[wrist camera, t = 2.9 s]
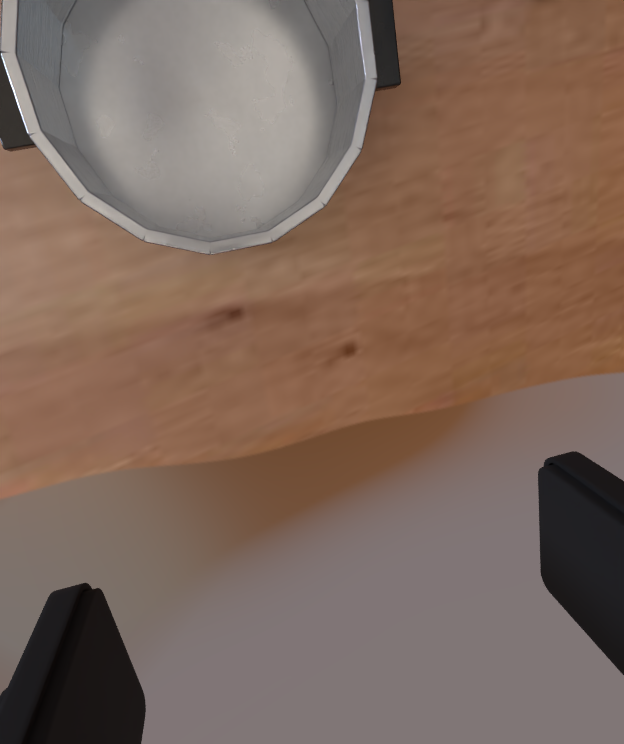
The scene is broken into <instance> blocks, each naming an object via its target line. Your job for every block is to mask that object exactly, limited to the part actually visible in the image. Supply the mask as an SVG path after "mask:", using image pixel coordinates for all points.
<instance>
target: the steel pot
mask: <svg viewBox="0 0 624 744" xmlns="http://www.w3.org/2000/svg"><path fill="white" fill-rule="evenodd" d="M400 84H401V80H400V70H399V60H398V51H397V41H396V31H395V22H394V12H393V2H392V0H2V9H1V36H0V140H1V143H2V146H3V148H4V149H5V150H8V151H16V150H22V149H28V148H34V147H38V149H39V150H40V151H41V153H42V154H43V155H44V156H45V158H46V159H47V160H48V162H49V163H50V164H51V165H52V167H53V168H54V169H55V170H56V172H57V173H58V174H59V176H60V177H61V178H62V179H63V181H64V182H65V183H66V185H67V186H68V187H69V188H70V190H71V191H72V192H73V193H74V195H75V196H76V197H77V199H78V200H81V202H82V203H83V204H85V205H86V206H88V207H90V208H91V209H93V210H94V211H96V212H97V213H99V214H101V215H102V216H104V217H105V218H107V219H109V220H110V221H112V222H113V223H115V224H116V225H118V226H120V227H121V228H123V229H124V230H126V231H127V232H129V233H131V234H132V235H134V236H135V237H137V238H139V239H140V240H142V241H144V242H148V243H153V244H158V245H163V246H168V247H173V248H178V249H183V250H188V251H193V252H198V253H203V254H208V255H210V254H211V255H213V254H218V253H223V252H228V251H233V250H238V249H243V248H248V247H254V246H259V245H264V244H269V243H272V242H275V241H276V240H278V239H279V238H281V237H282V236H284V235H285V234H286V233H288V232H289V231H291V230H292V229H294V228H295V227H297V226H298V225H299V224H301V223H302V222H304V221H305V220H307V219H308V218H310V217H311V216H313V215H314V214H315V213H317V212H318V211H320V210H321V209H323V208H324V207H325V206H326V205H327V204H328V202H329V201H330V199H331V197H332V196H333V194H334V193H335V191H336V190H337V188H338V187H339V185H340V184H341V182H342V181H343V179H344V177H345V176H346V174H347V173H348V171H349V170H350V168H351V167H352V165H353V164H354V162H355V161H356V159H357V157H358V156H359V154H360V153H361V150H362V148H363V144H364V139H365V135H366V130H367V126H368V121H369V117H370V112H371V107H372V103H373V98H374V94H375V91H380V90H386V89H392V88H396V87H397V86H399V85H400Z"/></svg>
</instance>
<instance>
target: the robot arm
mask: <svg viewBox="0 0 624 744" xmlns="http://www.w3.org/2000/svg"><path fill="white" fill-rule="evenodd" d="M538 486H539V521H540V522H539V525H540V560H541V562H540V563H541V576H542V579H543V582H544V584H545V586H546V588H547V589H548V591H549V592H550V593H551V594H552V595H553V597H554V598H555V599H556V600H557V601H558V602H559V603H560V604H561V605H562V607H563V608H564V609H565V610H566V611H567V612H568V613H569V614H570V616H571V617H572V618H573V619H574V620H575V621H576V622H577V623H578V624H579V626H580V627H581V628H582V629H583V630H584V631H585V632H586V633H587V635H588V636H589V637H590V638H591V639H592V640H593V641H594V642H595V644H596V645H597V646H598V647H599V648H600V649H601V650H602V651H603V652H604V654H605V655H606V656H607V657H608V658H609V659H610V660H611V662H612V663H613V664H614V665H615V666H616V667H617V668H618V669H619V670H620V672H621V673H622V674H623V675H624V481H623V480H621V479H619V478H618V477H616V476H615V475H613V474H612V473H610V472H609V471H607V470H605V469H604V468H602V467H601V466H599V465H598V464H596V463H595V462H593V461H591V460H590V459H588V458H587V457H585V456H584V455H582V454H580V453H578V452H569V453H565V454H561V455H558V456H554V457H550V458H548V459H546V460H545V462H544V467H542V468H540V469H539V472H538ZM145 712H146V708H145V697H144V693H143V690H142V687H141V685H140V683H139V680H138V678H137V675H136V673H135V670H134V668H133V665H132V663H131V660H130V658H129V655H128V653H127V650H126V648H125V646H124V643H123V641H122V638H121V636H120V633H119V631H118V628H117V626H116V623H115V621H114V618H113V616H112V613H111V611H110V609H109V606H108V604H107V601H106V599H105V596H104V594H103V592H102V590H101V589H99V588H96V589H92V588H91V586H90V585H89V584H87V583H83V584H79V585H75V586H71V587H68V588H64V589H60V590H57V591H54V592H52V593H51V594H50V596H49V597H48V600H47V602H46V604H45V606H44V608H43V610H42V613H41V615H40V617H39V619H38V621H37V624H36V626H35V628H34V631H33V633H32V635H31V637H30V639H29V641H28V644H27V646H26V648H25V650H24V653H23V655H22V657H21V659H20V662H19V664H18V666H17V668H16V671H15V673H14V675H13V677H12V680H11V681H10V684H9V686H8V688H6V690H4V691H3V692H2V694H1V695H0V744H141V741H142V734H143V727H144V720H145Z"/></svg>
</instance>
